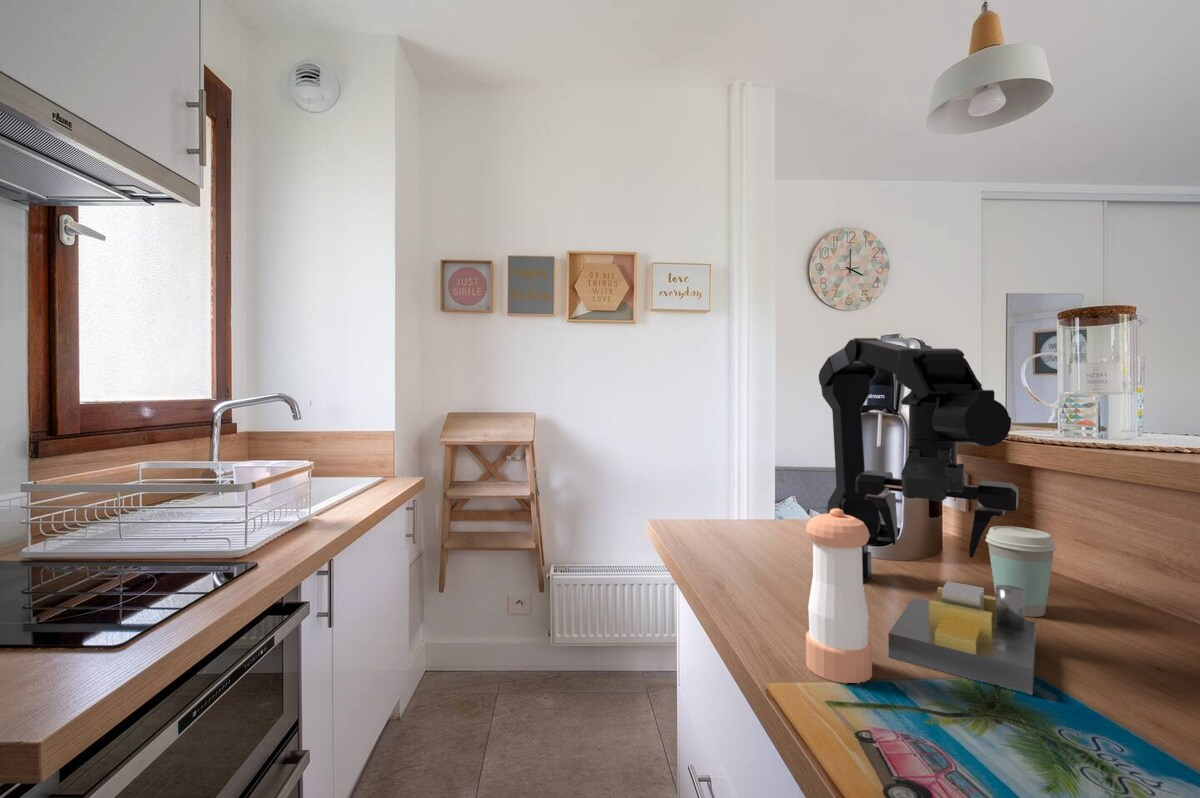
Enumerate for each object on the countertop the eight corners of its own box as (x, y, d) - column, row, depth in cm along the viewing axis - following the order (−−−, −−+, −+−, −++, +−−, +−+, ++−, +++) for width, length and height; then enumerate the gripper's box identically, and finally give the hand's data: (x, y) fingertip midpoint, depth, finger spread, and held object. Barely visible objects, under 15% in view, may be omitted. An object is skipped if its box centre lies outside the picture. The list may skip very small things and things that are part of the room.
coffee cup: (1071, 622, 77) (1070, 539, 77) (1004, 618, 78) (1003, 537, 78) (1035, 601, 85) (1034, 526, 85) (975, 597, 87) (974, 524, 87)
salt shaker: (840, 689, 59) (839, 517, 59) (792, 660, 66) (791, 506, 66) (886, 676, 62) (884, 511, 62) (836, 649, 69) (834, 501, 69)
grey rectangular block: (942, 651, 68) (941, 589, 68) (947, 640, 71) (947, 581, 71) (980, 661, 65) (979, 596, 65) (984, 649, 68) (983, 587, 68)
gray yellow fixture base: (888, 656, 66) (888, 597, 67) (913, 617, 79) (913, 566, 79) (1032, 696, 57) (1031, 627, 58) (1035, 644, 70) (1034, 587, 70)
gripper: (844, 439, 73) (843, 550, 74) (1014, 448, 61) (1013, 582, 62) (865, 433, 82) (864, 533, 82) (1018, 441, 70) (1017, 558, 70)
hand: (931, 550), depth 74 cm, fingers open, 9 cm apart
